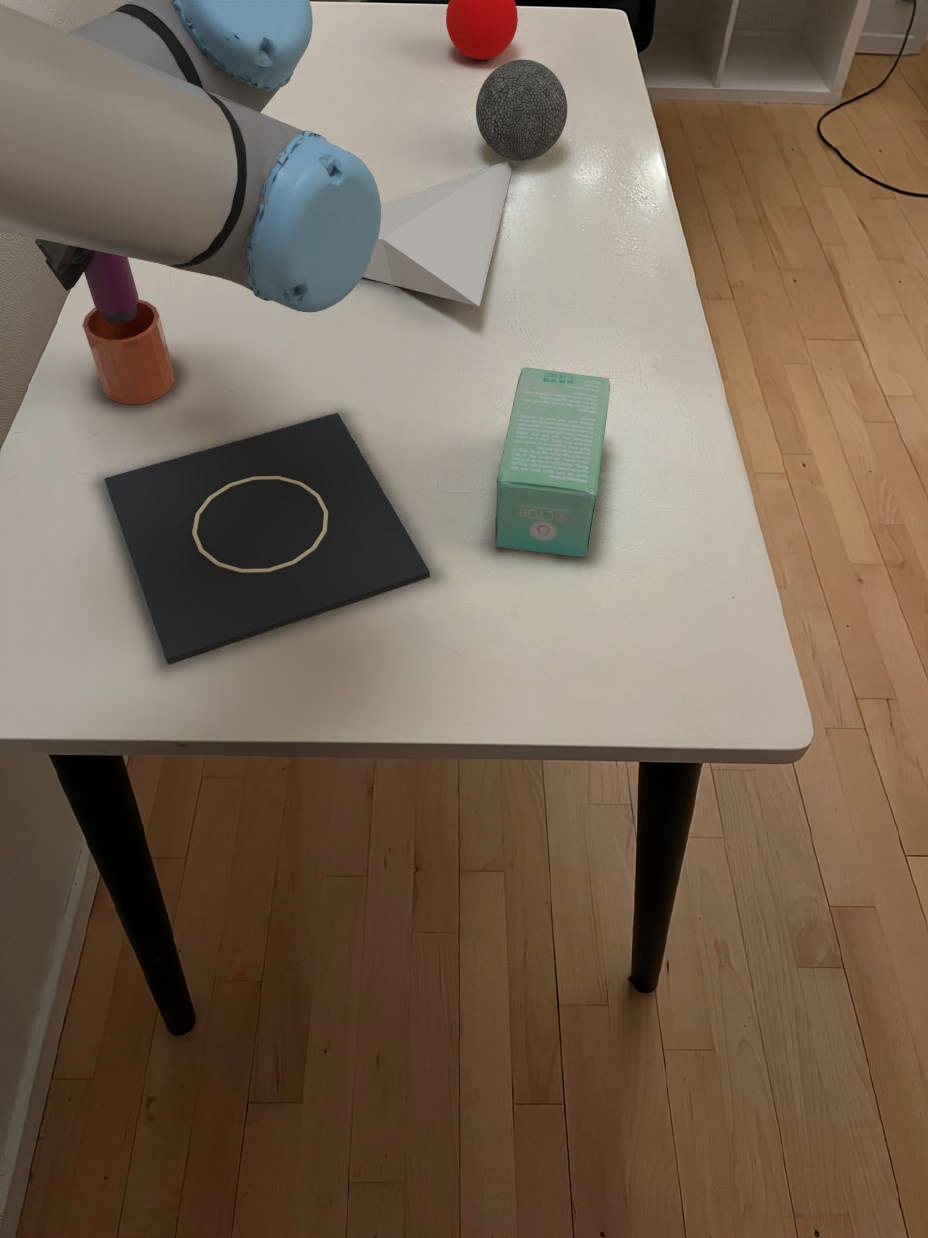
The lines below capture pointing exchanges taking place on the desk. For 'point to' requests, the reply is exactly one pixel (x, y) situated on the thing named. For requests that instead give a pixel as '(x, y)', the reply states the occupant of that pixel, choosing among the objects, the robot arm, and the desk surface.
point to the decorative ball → (521, 110)
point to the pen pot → (131, 355)
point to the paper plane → (442, 236)
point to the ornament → (481, 26)
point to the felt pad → (260, 535)
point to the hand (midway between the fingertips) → (81, 262)
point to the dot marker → (112, 287)
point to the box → (552, 463)
